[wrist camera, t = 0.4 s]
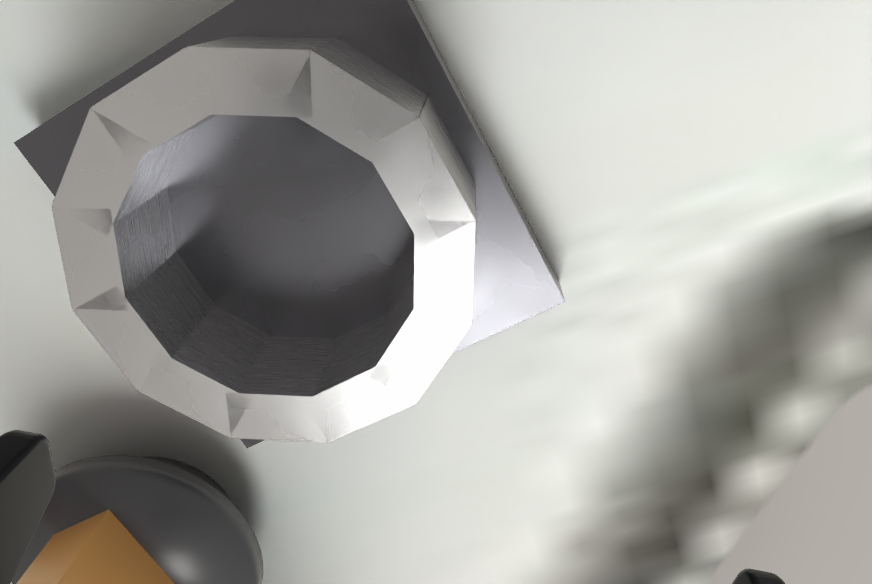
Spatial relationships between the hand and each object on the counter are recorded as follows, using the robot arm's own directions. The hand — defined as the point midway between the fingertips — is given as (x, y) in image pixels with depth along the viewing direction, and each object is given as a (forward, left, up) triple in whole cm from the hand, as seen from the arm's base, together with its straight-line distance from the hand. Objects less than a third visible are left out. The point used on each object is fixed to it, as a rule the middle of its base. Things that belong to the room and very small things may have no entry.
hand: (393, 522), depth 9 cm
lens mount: (-4, +2, -15) cm, 15 cm away
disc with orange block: (-16, -6, -15) cm, 23 cm away
